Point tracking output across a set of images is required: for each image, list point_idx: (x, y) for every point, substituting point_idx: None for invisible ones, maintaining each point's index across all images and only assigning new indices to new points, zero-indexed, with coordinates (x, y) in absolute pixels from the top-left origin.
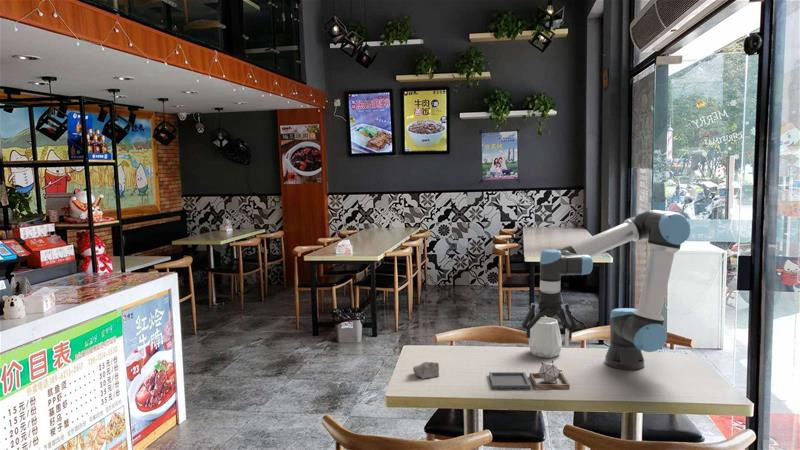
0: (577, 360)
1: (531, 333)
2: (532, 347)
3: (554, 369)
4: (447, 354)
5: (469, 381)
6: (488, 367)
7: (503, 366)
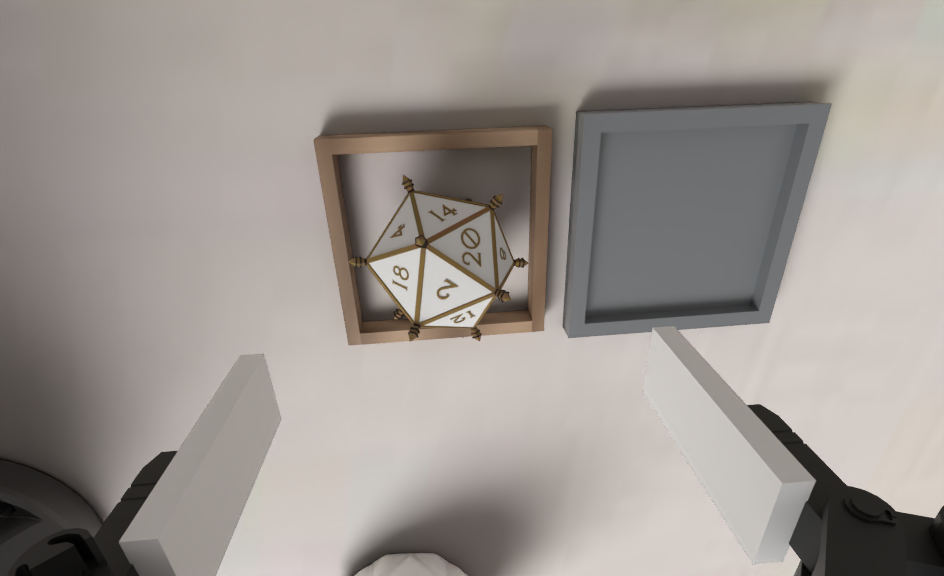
0: (254, 539)
1: (760, 441)
2: None
3: (411, 234)
4: None
5: (890, 226)
6: None
7: (640, 437)
